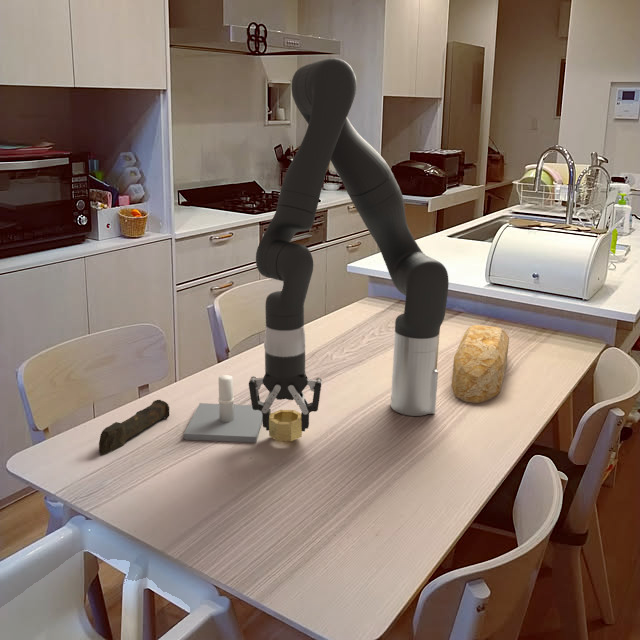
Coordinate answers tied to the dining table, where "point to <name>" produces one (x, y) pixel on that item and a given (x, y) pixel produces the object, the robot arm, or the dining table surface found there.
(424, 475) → the dining table surface
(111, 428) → the hand tool
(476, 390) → the bread
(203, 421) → the post base
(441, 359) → the dining table surface
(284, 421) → the ring
